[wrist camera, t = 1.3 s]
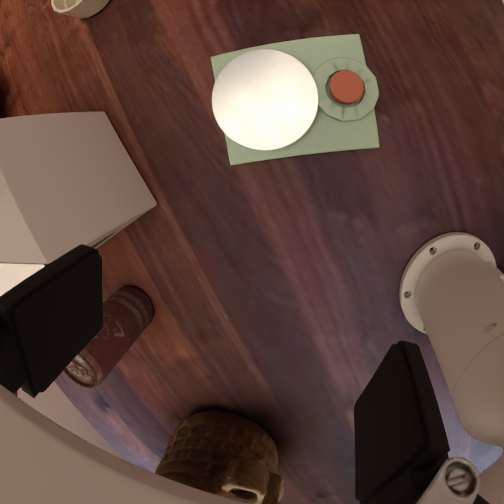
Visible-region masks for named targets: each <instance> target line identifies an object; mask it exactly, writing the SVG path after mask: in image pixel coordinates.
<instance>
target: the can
mask: <svg viewBox="0 0 504 504" xmlns="http://www.w3.org/2000/svg"><path fill="white" fill-rule="evenodd" d="M152 318H153V308H152V304H151V302H150V300H149V298H148V297H147V296H146V295H145V294H144V293H143V292H142V291H140V290H139V289H137V288H134V287H122V288H120V289H118V290H117V291H116V292H115V293H114V294H113V295H112V296H111V297H109V298H108V299H107V300H106V301H105V302H104V303H103V326H102V329H101V330H100V332H99V333H98V334H97V335H96V336H95V337H94V338H93V339H92V340H91V341H90V342H89V343H88V344H87V345H86V346H85V347H84V349H83V350H82V351H81V352H80V353H79V354H78V355H77V356H76V357H75V358H74V359H73V360H72V361H71V363H70V364H69V365H68V366H67V367H66V368H65V369H64V370H63V371H64V372H65V373H66V374H67V375H68V376H69V378H71V379H72V380H73V381H74V382H76V383H77V384H79V385H81V386H83V387H86V388H92V387H94V386H97V385H99V384H101V383H102V382H103V381H104V379H105V378H106V377H107V375H108V374H109V373H110V372H111V370H112V369H113V368H114V367H115V365H116V364H117V363H118V362H119V360H120V359H121V358H122V357H123V355H124V354H125V353H126V352H127V350H128V349H129V348H130V347H131V346H132V344H133V343H134V342H135V341H136V339H137V338H138V337H139V336H140V334H141V333H142V332H143V331H144V330H145V328H146V327H147V326H148V325H149V323H150V322H151V320H152Z"/></svg>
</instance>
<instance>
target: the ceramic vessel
mask: <svg viewBox="0 0 504 504" xmlns="http://www.w3.org/2000/svg"><path fill="white" fill-rule="evenodd" d="M277 466H278V454H277V451H276V445H275V443H274V441H273V439H272V438H271V437H270V436H269V435H268V434H267V433H266V432H265V431H264V430H263V429H262V428H261V427H260V426H259V425H257V424H256V423H255V422H253V421H252V420H249V419H246V418H243V417H241V416H238V415H236V414H233V413H226V412H222V411H218V410H212V411H207V412H199V413H196V414H193V415H192V416H190V417H189V418H187V419H186V420H185V421H183V422H182V423H181V424H180V425H179V426H178V427H177V429H176V430H175V432H174V434H173V435H172V436H171V437H170V438H169V443H168V445H167V448H166V451H165V453H164V455H163V457H162V459H161V461H160V463H159V465H158V467H157V469H156V472H155V474H157V475H160V476H162V477H165V478H168V479H170V480H173V481H176V482H178V483H181V484H184V485H187V486H190V487H193V488H196V489H199V490H202V491H205V492H209V493H212V494H215V495H219V496H222V497H226V498H230V499H233V500H237V501H241V502H245V503H249V504H279V500H280V499H281V498H282V497H283V492H284V490H285V486H284V480H285V479H284V477H283V476H281V475H278V474H276V472H277Z"/></svg>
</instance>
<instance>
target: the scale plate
mask: <svg viewBox="0 0 504 504" xmlns="http://www.w3.org/2000/svg"><path fill="white" fill-rule="evenodd" d="M212 109H213V113H214V116H215V119H216V121H217V123H218V125H219V126H220V128H221V129H222V131H223V132H224V133H225V134H226V135H227V136H228V137H229V138H230V139H232V140H233V141H234V142H236V143H238V144H239V145H242V146H244V147H246V148H250V149H254V150H262V151H268V150H276V149H280V148H283V147H286V146H288V145H290V144H292V143H294V142H295V141H297V140H298V139H300V138H301V137H302V136H303V135H304V134H305V133H306V132H307V131H308V129H309V128H310V126H311V125H312V123H313V121H314V119H315V116H316V113H317V109H318V90H317V86H316V83H315V80H314V78H313V76H312V75H311V73H310V71H309V70H308V69H307V68H306V66H305V65H304V64H303V63H302V62H300V61H299V60H298V59H296V58H295V57H293V56H291V55H289V54H287V53H285V52H282V51H278V50H272V49H258V50H253V51H249V52H246V53H244V54H241V55H239V56H238V57H236V58H234V59H233V60H232V61H230V62H229V63H228V64H227V65H226V66H225V67H224V68H223V70H222V71H221V72H220V74H219V75H218V77H217V79H216V82H215V84H214V87H213V92H212Z"/></svg>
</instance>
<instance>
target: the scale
mask: <svg viewBox="0 0 504 504" xmlns="http://www.w3.org/2000/svg"><path fill="white" fill-rule="evenodd" d="M258 49H272V50H278V51H282V52H285V53H287V54H289V55H291V56H293V57H295V58H296V59H298V60H299V61H300V62H302V63H303V64H304V65H305V66H306V68H307V69H308V70H309V71H310V73H311V75H312V76H313V78H314V80H315V83H316V86H317V90H318V109H317V113H316V116H315V119H314V121H313V123H312V125H311V126H310V128H309V129H308V131H307V132H306V133H305V134H304V135H303V136H302V137H301V138H300V139H298V140H297V141H295V142H294V143H292V144H290V145H288V146H286V147H283V148H280V149H276V150H268V151H262V150H254V149H250V148H246V147H244V146H242V145H239V144H238V143H236V142H234V141H233V140H232V139H230V138H229V137H228V136H227V135H226V134H225V133H224V134H225V139H226V144H227V150H228V155H229V161H230V165H237V164H243V163H249V162H256V161H263V160H269V159H276V158H284V157H291V156H299V155H308V154H316V153H325V152H335V151H345V150H356V149H369V148H379V147H380V145H379V137H378V130H377V123H376V116H375V110H374V107H375V105H376V102H377V99H378V97H379V90H378V85H377V80H376V77H375V76H374V75H373V73H372V72H371V71H370V70H369V68H368V67H367V66H366V61H365V57H364V52H363V48H362V44H361V40H360V35H359V34H349V35H335V36H324V37H315V38H307V39H299V40H292V41H285V42H279V43H273V44H267V45H262V46H257V47H252V48H247V49H242V50H238V51H233V52H229V53H225V54H221V55H217V56H213V57H211V62H212V68H213V73H214V79H215V82H216V79H217V77H218V75H219V74H220V72H221V71H222V70H223V68H224V67H225V66H226V65H227V64H228V63H229V62H230V61H232V60H233V59H234V58H236V57H238V56H239V55H241V54H244V53H246V52H249V51H253V50H258ZM341 70H349V71H352V72H355V73H356V74H357V75H359V76H360V78H361V79H362V81H363V84H364V92H363V95H362V96H361V97H360V99H358V100H357V101H356V102H354V103H352V104H341V103H339V102H337V101H336V100H334V98H333V97H332V96H331V94H330V91H329V84H330V80H331V78H332V76H333V75H334V74H335V73H337V72H338V71H341Z"/></svg>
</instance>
